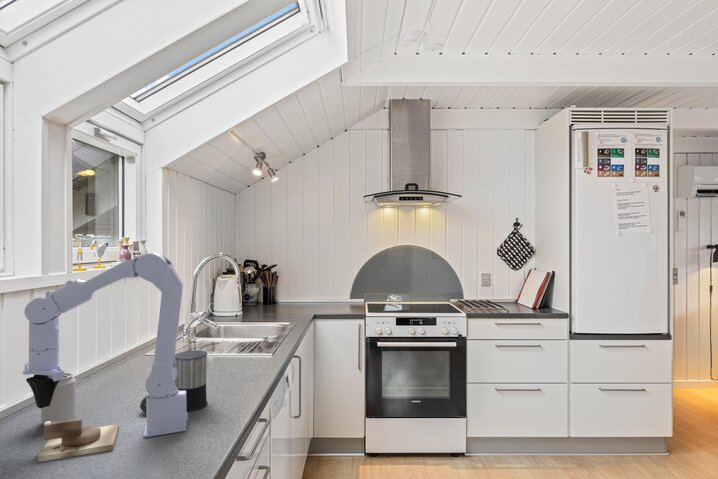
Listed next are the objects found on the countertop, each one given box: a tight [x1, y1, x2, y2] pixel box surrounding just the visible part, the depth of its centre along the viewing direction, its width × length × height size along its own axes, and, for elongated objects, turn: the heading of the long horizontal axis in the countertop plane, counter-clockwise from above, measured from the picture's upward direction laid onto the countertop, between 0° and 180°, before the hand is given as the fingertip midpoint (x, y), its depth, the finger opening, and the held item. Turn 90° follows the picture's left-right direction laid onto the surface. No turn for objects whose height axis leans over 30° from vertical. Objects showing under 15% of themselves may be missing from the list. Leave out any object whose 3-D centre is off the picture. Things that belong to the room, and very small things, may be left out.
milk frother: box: [139, 350, 208, 414], centre depth 123 cm, size 14×16×15 cm
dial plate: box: [37, 423, 120, 463], centre depth 101 cm, size 14×12×1 cm
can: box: [40, 372, 77, 425], centre depth 114 cm, size 8×8×12 cm
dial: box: [43, 417, 101, 447], centre depth 100 cm, size 11×8×5 cm
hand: (43, 406), depth 102 cm, fingers closed
